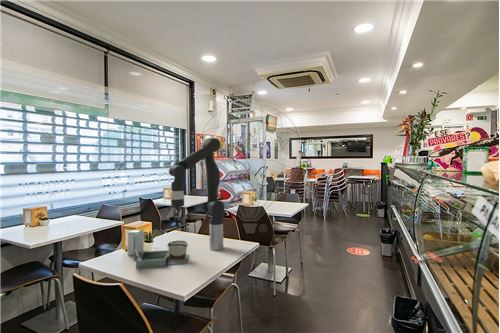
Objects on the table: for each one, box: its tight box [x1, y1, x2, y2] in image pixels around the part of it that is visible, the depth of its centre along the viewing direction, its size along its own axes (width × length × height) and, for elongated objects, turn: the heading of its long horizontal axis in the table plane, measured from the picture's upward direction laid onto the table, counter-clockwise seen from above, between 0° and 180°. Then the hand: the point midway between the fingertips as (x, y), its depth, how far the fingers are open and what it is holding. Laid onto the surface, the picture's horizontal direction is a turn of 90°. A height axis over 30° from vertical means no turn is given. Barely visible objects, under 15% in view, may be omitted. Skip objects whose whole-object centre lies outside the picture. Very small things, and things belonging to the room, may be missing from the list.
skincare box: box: [127, 229, 145, 256], centre depth 170 cm, size 8×6×15 cm
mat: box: [166, 254, 190, 266], centre depth 158 cm, size 11×14×1 cm
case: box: [133, 228, 170, 269], centre depth 155 cm, size 17×16×18 cm
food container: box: [167, 240, 188, 260], centre depth 160 cm, size 12×6×10 cm, turn 86°
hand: (178, 224), depth 158 cm, fingers open, 8 cm apart
